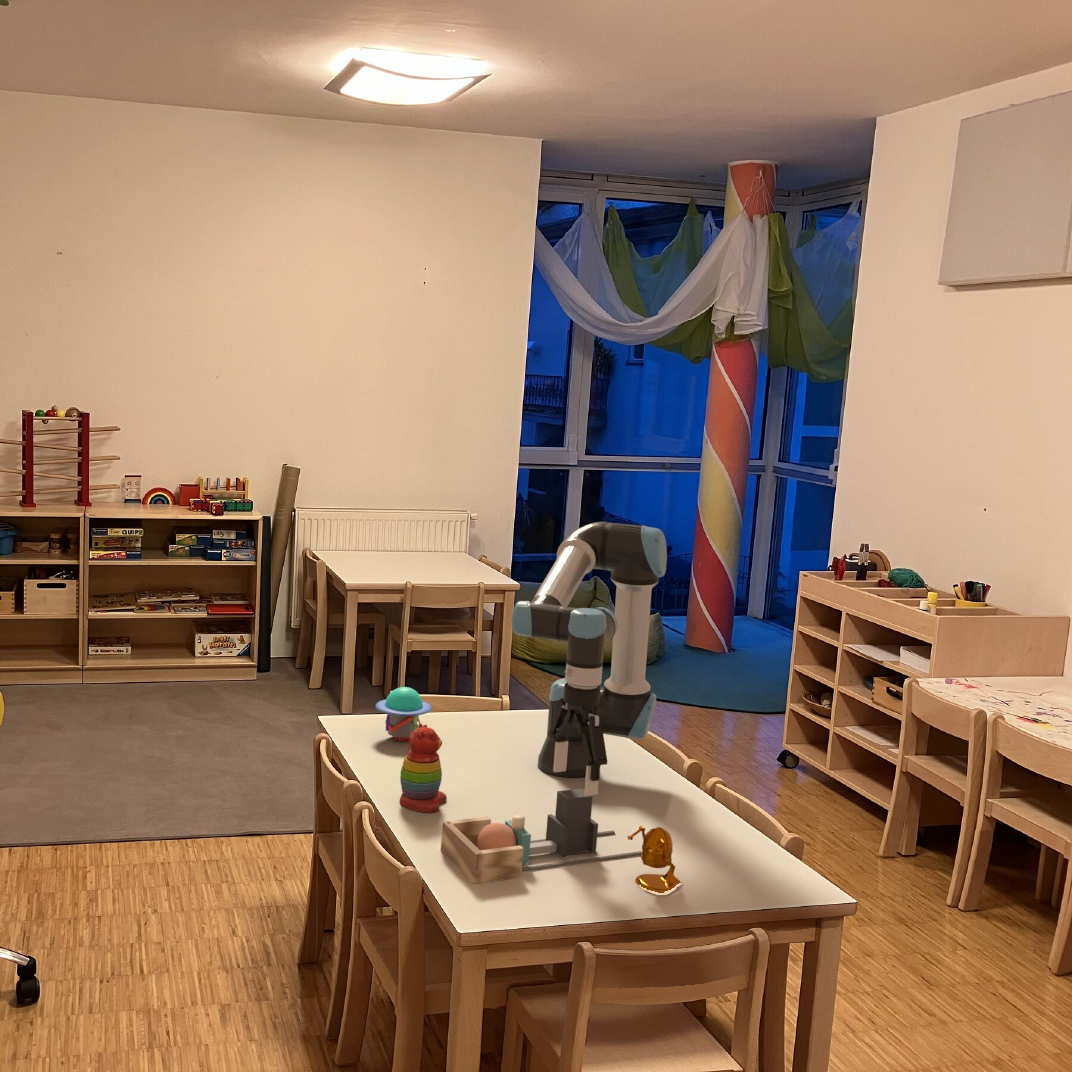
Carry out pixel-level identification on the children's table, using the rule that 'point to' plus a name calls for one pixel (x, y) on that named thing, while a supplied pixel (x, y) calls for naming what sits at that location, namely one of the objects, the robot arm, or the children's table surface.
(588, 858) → the track
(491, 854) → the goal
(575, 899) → the children's table surface
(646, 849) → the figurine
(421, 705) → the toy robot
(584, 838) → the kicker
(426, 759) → the stacking bear
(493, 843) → the toy ball
